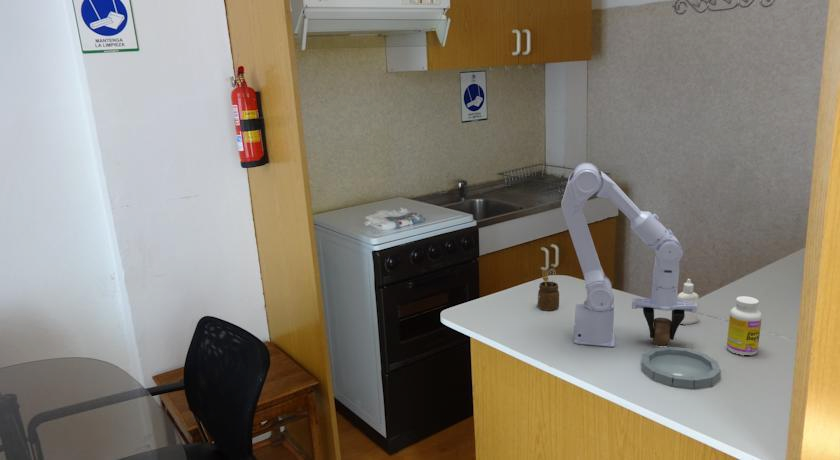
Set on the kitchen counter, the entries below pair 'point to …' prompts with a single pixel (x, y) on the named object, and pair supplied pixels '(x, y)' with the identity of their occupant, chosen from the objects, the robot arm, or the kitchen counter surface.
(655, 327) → the walnut cylinder
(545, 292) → the utensil holder
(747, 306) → the supplement bottle
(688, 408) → the kitchen counter surface
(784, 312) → the kitchen counter surface
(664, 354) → the slate dish
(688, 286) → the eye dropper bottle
